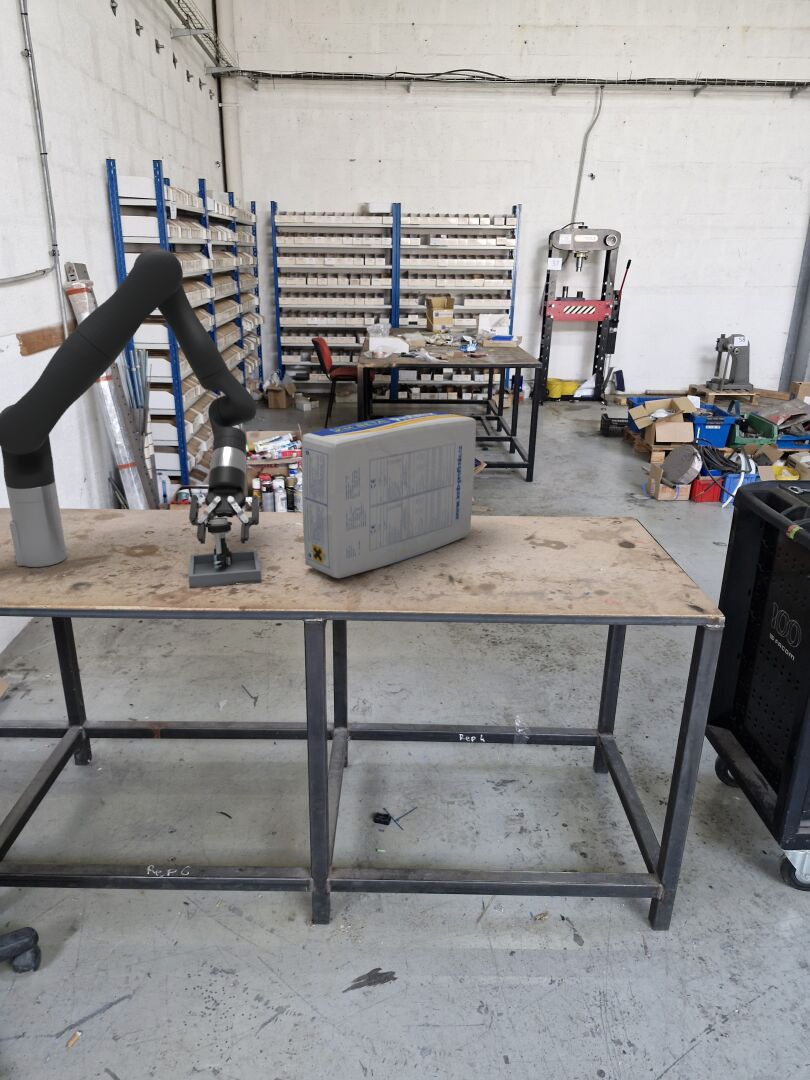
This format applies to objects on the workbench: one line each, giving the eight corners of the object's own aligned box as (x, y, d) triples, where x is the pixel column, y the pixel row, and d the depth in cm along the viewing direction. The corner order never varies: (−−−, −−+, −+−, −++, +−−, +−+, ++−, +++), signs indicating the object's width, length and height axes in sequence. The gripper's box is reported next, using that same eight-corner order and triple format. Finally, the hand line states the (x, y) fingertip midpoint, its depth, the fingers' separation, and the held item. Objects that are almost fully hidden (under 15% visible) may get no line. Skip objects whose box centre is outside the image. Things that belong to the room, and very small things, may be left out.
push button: (228, 570, 146) (223, 522, 144) (203, 570, 146) (198, 522, 144) (239, 562, 152) (235, 516, 150) (215, 562, 153) (211, 517, 151)
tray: (189, 588, 141) (188, 576, 140) (191, 565, 152) (190, 554, 151) (261, 582, 145) (260, 570, 144) (257, 560, 156) (257, 550, 155)
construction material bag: (438, 526, 180) (442, 407, 169) (472, 538, 172) (479, 414, 162) (301, 570, 151) (296, 430, 141) (335, 586, 144) (333, 440, 133)
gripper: (190, 464, 148) (183, 534, 142) (259, 464, 150) (255, 534, 143) (197, 482, 155) (190, 550, 148) (263, 481, 156) (260, 549, 150)
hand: (222, 542), depth 146 cm, fingers open, 8 cm apart
